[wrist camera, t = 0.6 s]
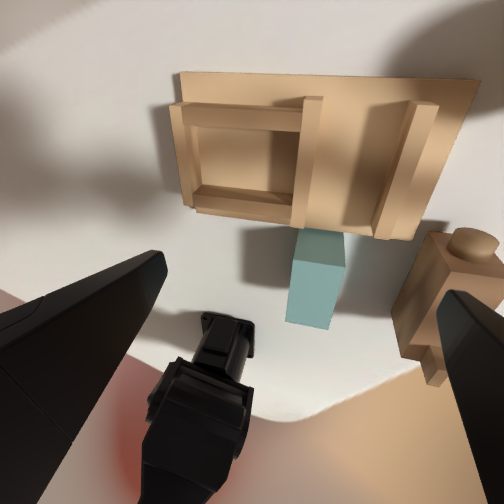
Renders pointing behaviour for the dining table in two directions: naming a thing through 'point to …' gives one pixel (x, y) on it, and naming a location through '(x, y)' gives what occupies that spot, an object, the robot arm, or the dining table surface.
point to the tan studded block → (434, 288)
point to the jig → (317, 147)
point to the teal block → (315, 277)
